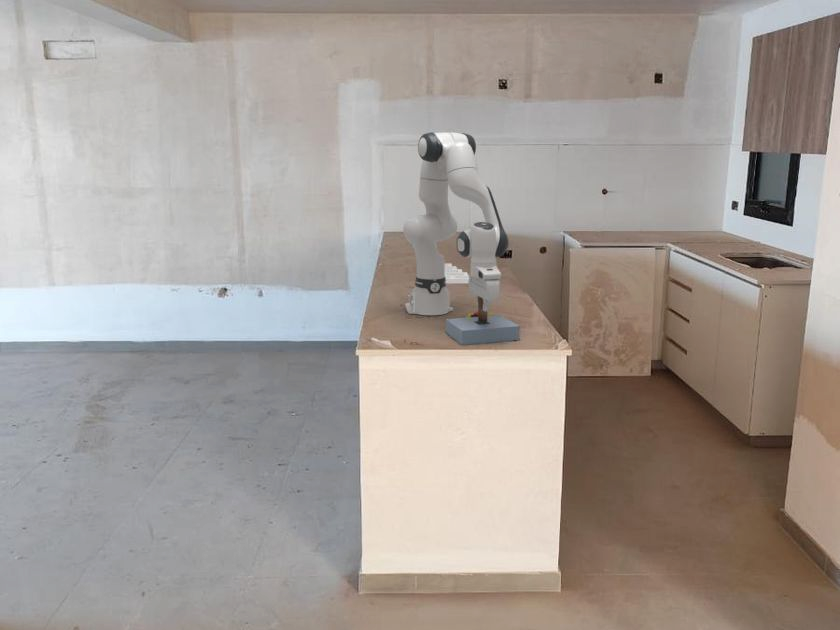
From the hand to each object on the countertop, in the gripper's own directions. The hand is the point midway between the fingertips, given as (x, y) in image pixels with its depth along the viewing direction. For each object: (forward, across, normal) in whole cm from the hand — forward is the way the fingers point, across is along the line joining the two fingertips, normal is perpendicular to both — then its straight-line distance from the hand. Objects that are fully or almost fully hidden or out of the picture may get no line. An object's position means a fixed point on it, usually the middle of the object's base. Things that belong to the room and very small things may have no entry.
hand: (482, 309), depth 256 cm
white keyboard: (+10, -117, +30) cm, 121 cm away
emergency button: (+10, -17, +5) cm, 21 cm away
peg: (+4, 0, 0) cm, 4 cm away
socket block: (+10, 0, 0) cm, 10 cm away
